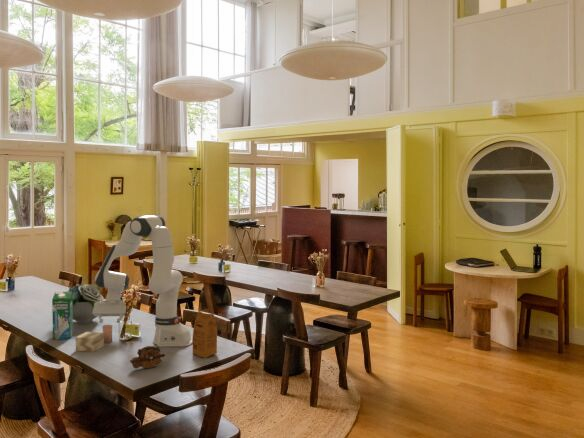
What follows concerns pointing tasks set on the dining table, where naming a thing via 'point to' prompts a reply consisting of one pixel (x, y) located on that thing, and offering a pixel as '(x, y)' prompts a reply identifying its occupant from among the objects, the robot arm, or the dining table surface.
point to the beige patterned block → (89, 341)
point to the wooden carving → (147, 357)
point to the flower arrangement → (84, 302)
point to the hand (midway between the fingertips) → (109, 322)
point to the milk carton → (62, 315)
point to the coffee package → (204, 335)
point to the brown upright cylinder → (107, 333)
